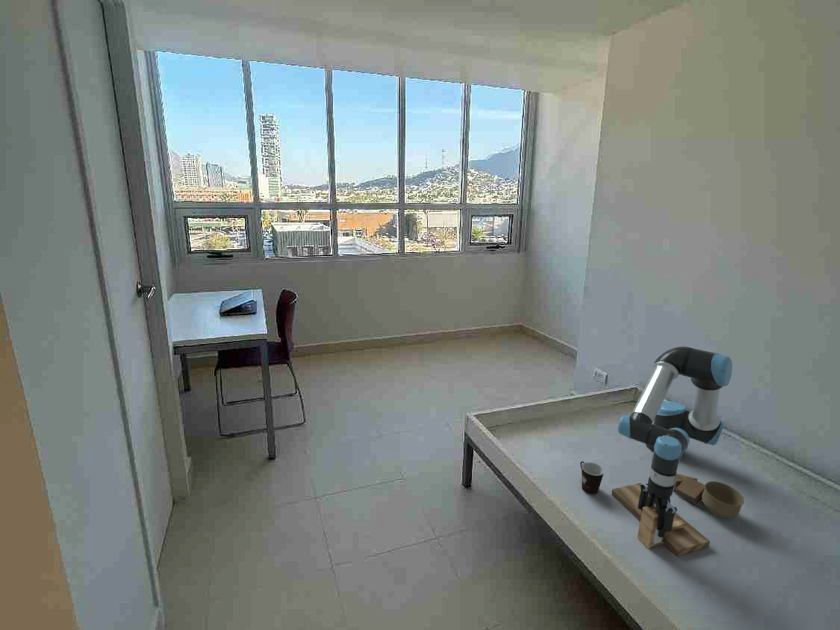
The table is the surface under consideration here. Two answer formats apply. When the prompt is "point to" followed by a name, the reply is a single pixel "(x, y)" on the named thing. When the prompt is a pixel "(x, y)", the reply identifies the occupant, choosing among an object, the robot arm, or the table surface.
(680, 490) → the brown wooden blocks
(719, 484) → the bowl
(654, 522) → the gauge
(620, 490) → the board
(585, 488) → the coffee mug
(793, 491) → the table surface
